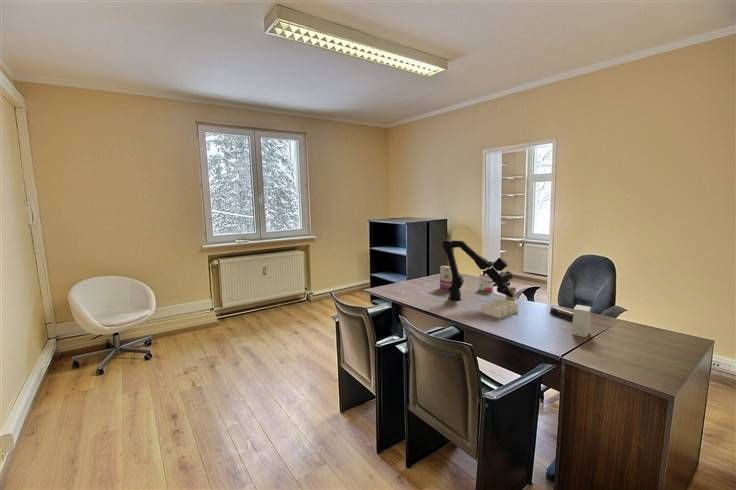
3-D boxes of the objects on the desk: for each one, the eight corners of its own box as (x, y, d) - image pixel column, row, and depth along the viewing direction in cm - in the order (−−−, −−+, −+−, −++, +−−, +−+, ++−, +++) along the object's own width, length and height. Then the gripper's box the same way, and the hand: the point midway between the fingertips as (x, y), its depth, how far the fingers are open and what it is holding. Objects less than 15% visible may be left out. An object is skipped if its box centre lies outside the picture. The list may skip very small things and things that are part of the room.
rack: (479, 312, 201) (480, 303, 200) (498, 306, 211) (498, 297, 211) (500, 319, 190) (500, 309, 190) (518, 312, 201) (518, 302, 200)
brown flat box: (574, 326, 180) (575, 318, 179) (533, 312, 202) (533, 305, 202) (592, 321, 186) (593, 313, 186) (550, 308, 208) (550, 301, 208)
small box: (574, 329, 175) (576, 304, 173) (589, 332, 171) (591, 306, 169) (571, 334, 169) (573, 308, 167) (586, 337, 165) (588, 311, 163)
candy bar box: (456, 289, 249) (457, 267, 247) (452, 291, 246) (453, 268, 243) (443, 287, 257) (443, 265, 255) (439, 288, 254) (439, 266, 251)
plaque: (505, 305, 212) (506, 286, 210) (506, 304, 215) (507, 285, 213) (514, 307, 210) (515, 287, 208) (515, 305, 213) (515, 286, 211)
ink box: (493, 290, 246) (493, 274, 244) (489, 291, 243) (489, 275, 241) (482, 288, 252) (483, 272, 251) (478, 289, 249) (479, 273, 248)
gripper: (503, 270, 202) (523, 291, 199) (506, 264, 219) (525, 283, 216) (488, 282, 207) (507, 303, 204) (493, 275, 224) (510, 294, 220)
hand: (513, 295), depth 211 cm, fingers open, 7 cm apart
